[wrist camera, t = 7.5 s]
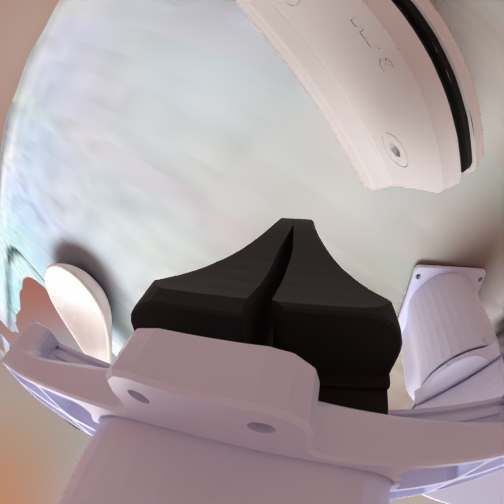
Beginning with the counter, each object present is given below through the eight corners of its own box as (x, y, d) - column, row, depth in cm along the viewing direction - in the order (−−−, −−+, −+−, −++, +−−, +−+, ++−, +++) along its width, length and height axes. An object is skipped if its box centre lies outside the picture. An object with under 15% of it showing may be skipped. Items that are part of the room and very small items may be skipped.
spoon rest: (48, 260, 33) (17, 290, 27) (87, 241, 29) (48, 277, 23) (134, 369, 44) (116, 401, 38) (185, 372, 39) (167, 411, 33)
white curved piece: (232, 1, 13) (234, -90, 4) (288, -23, 12) (325, -105, 3) (365, 191, 19) (458, 237, 10) (411, 160, 18) (511, 186, 9)
